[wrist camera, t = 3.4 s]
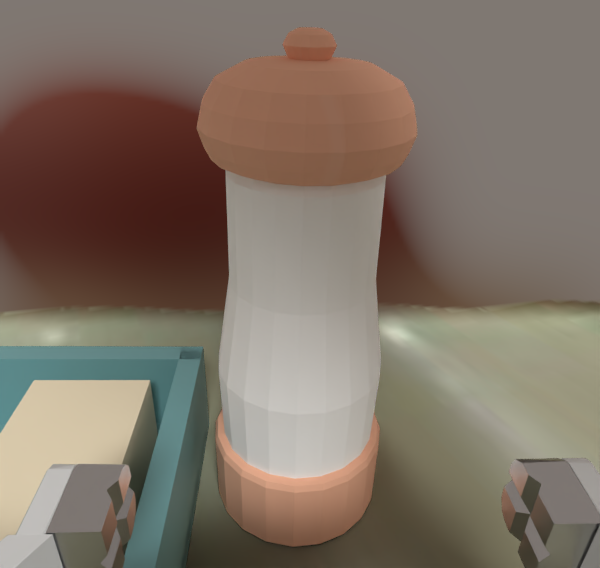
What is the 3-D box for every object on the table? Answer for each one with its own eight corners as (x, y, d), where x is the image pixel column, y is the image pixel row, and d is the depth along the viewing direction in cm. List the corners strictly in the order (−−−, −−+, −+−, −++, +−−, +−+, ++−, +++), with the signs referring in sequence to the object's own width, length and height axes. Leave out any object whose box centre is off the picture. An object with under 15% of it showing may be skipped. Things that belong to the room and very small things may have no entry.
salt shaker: (192, 458, 26) (148, 21, 16) (313, 404, 29) (333, 21, 20) (270, 580, 20) (269, 40, 11) (405, 495, 24) (489, 35, 15)
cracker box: (159, 446, 25) (150, 380, 23) (112, 621, 18) (93, 548, 16) (52, 446, 25) (34, 380, 23) (-37, 624, 18) (-75, 550, 16)
